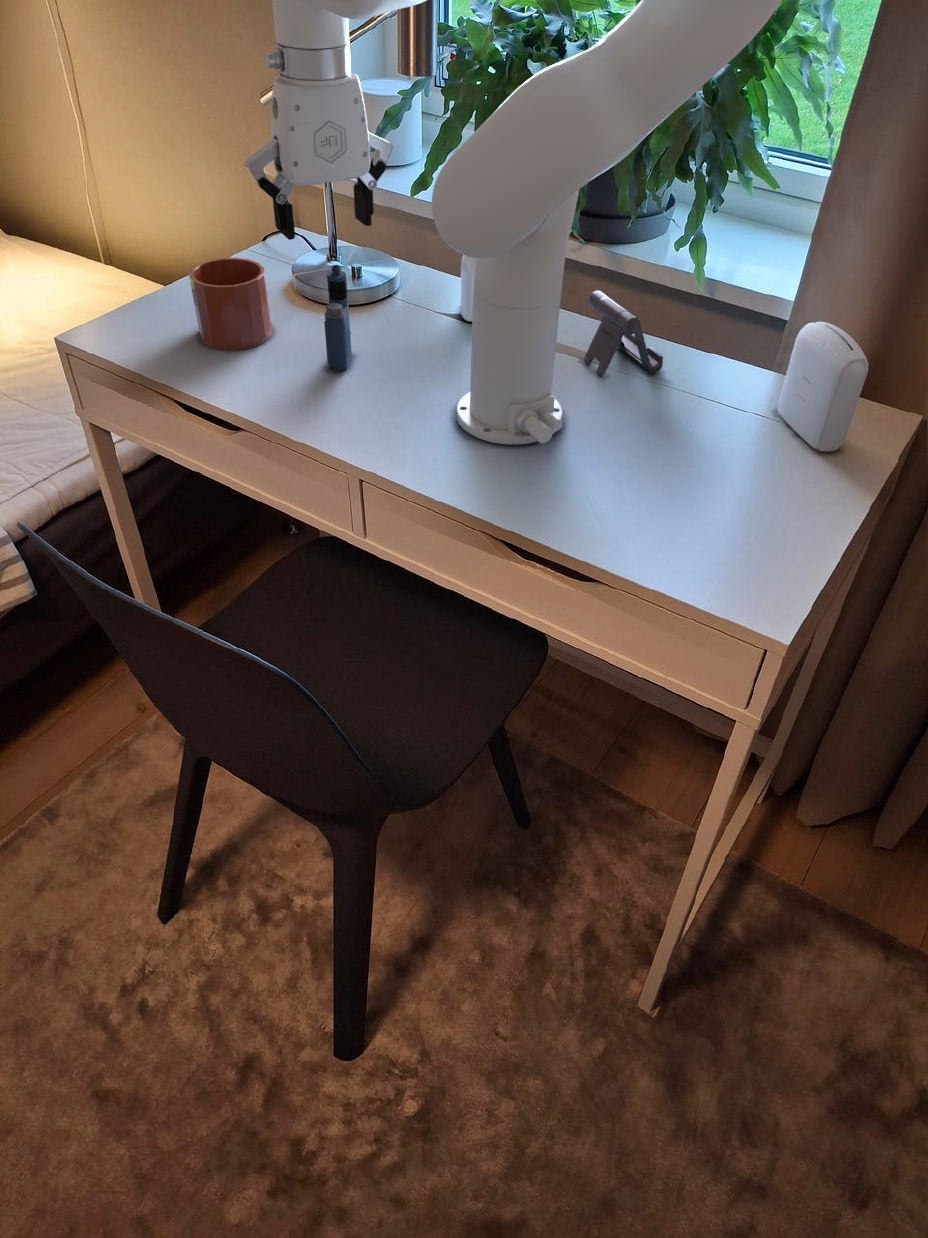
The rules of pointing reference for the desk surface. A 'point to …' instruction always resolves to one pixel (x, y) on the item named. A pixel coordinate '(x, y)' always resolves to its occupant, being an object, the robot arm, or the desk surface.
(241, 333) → the pen cup
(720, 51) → the robot arm
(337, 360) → the vaping device
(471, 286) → the eye dropper bottle
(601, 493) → the desk surface
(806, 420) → the photo printer
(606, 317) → the tablet stand
